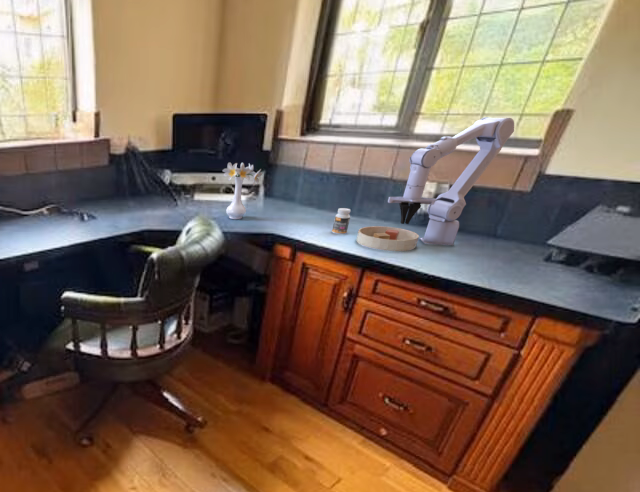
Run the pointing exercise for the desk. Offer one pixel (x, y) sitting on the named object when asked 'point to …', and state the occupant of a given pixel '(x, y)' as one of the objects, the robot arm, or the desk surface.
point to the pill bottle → (341, 221)
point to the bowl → (403, 242)
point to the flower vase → (239, 187)
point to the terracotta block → (392, 234)
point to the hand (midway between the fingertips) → (404, 223)
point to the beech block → (381, 235)
